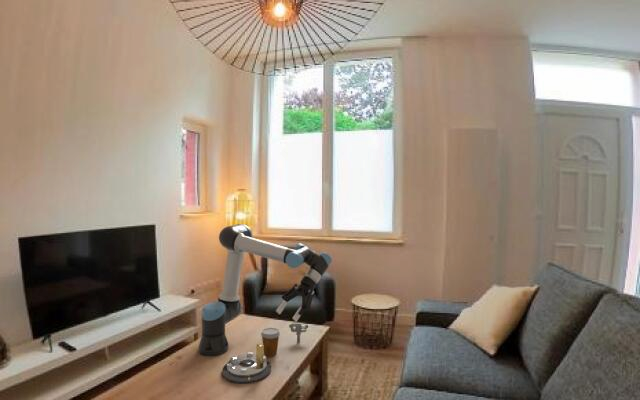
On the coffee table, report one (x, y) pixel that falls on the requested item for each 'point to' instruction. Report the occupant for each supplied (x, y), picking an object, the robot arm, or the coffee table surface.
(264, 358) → the lugged metal disc
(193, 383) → the coffee table surface
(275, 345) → the disposable coffee cup
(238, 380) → the base plate
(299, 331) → the mechanical component
